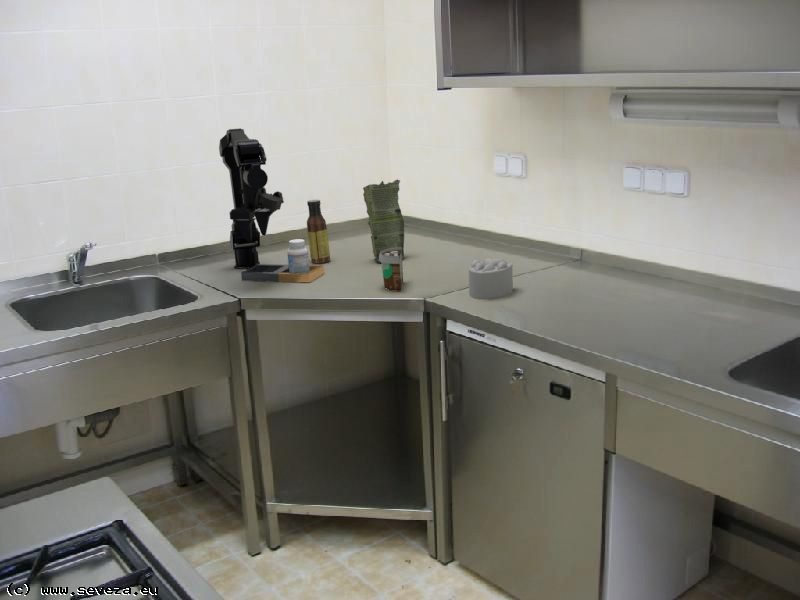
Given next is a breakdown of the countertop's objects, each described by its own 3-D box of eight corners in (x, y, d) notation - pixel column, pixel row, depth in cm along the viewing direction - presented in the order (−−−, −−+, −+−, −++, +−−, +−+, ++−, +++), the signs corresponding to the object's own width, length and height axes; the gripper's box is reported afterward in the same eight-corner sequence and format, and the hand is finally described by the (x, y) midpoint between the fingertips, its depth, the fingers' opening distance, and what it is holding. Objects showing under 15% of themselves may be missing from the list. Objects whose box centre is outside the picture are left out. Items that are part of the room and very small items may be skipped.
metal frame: (241, 280, 251) (240, 272, 251) (258, 271, 261) (257, 263, 261) (309, 282, 245) (308, 274, 244) (324, 273, 255) (323, 265, 254)
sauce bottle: (332, 259, 273) (327, 198, 267) (328, 263, 267) (323, 201, 261) (312, 260, 273) (307, 199, 268) (308, 264, 267) (302, 202, 262)
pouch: (366, 264, 263) (361, 184, 257) (373, 255, 275) (368, 178, 268) (401, 263, 262) (397, 183, 255) (407, 255, 273) (403, 177, 266)
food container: (382, 281, 241) (379, 247, 239) (403, 280, 241) (401, 246, 238) (378, 293, 230) (376, 257, 227) (401, 292, 229) (399, 256, 226)
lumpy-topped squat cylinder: (517, 288, 227) (516, 257, 224) (497, 301, 216) (496, 268, 214) (482, 285, 232) (481, 254, 230) (460, 297, 221) (459, 265, 219)
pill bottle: (289, 275, 254) (286, 239, 251) (310, 274, 255) (307, 237, 251) (289, 280, 248) (286, 243, 245) (310, 279, 249) (307, 241, 246)
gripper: (262, 189, 230) (267, 245, 234) (290, 180, 247) (295, 232, 251) (225, 190, 234) (231, 245, 238) (256, 180, 251) (261, 232, 255)
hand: (256, 238), depth 245 cm, fingers open, 9 cm apart
